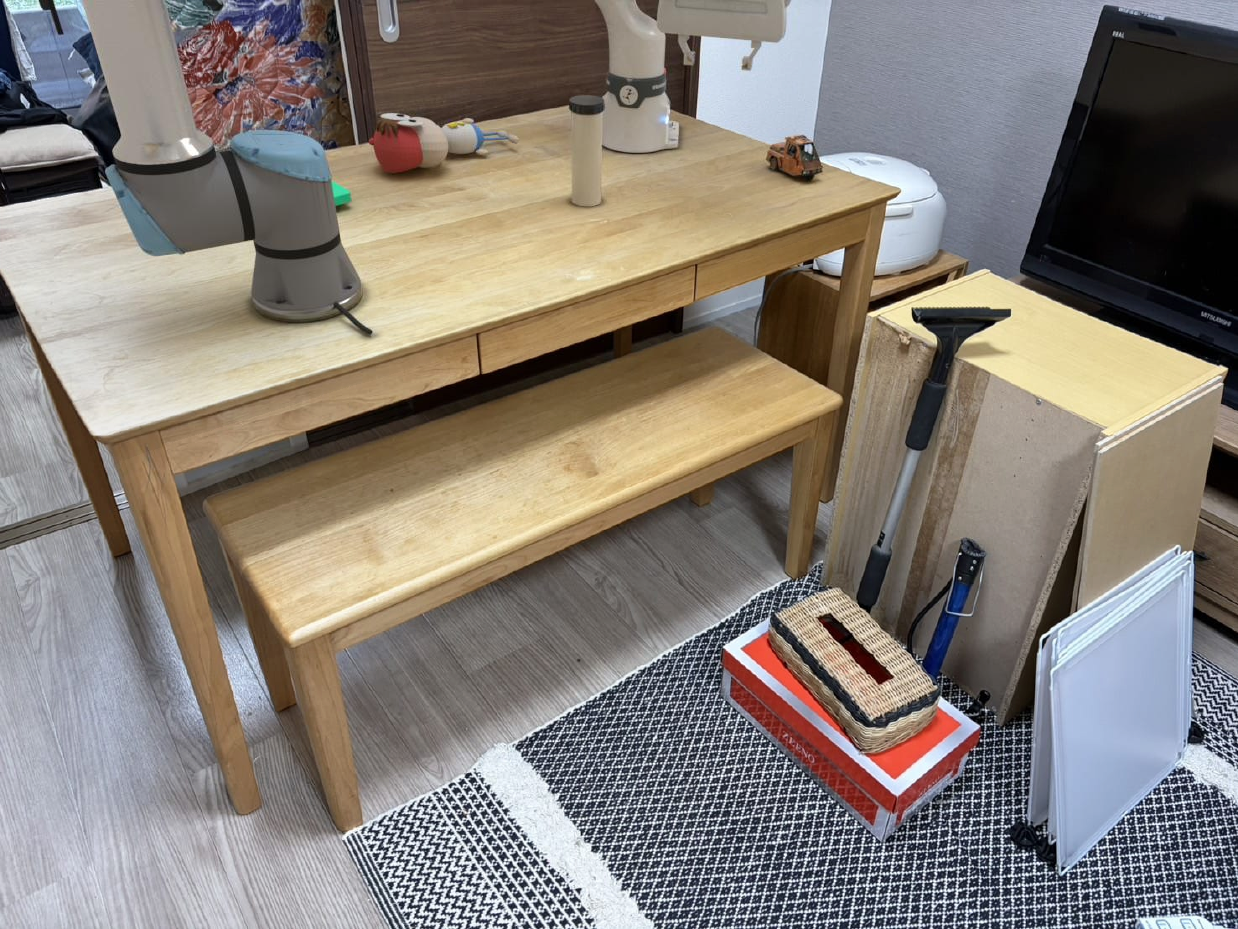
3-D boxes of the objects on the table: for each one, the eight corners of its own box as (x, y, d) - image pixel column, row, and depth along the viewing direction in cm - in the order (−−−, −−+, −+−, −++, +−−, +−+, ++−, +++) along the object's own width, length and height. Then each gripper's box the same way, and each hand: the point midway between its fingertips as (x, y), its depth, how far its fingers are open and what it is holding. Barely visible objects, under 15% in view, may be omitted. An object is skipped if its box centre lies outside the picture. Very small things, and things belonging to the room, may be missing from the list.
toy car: (782, 160, 188) (786, 126, 183) (827, 178, 180) (833, 142, 176) (760, 167, 184) (764, 131, 180) (805, 184, 177) (810, 148, 173)
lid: (580, 102, 162) (580, 92, 161) (611, 107, 159) (611, 98, 158) (562, 110, 157) (562, 101, 156) (593, 116, 155) (593, 107, 154)
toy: (535, 119, 180) (386, 123, 165) (533, 173, 185) (388, 181, 170) (493, 104, 193) (352, 106, 178) (493, 155, 198) (355, 160, 183)
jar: (581, 193, 171) (581, 96, 161) (606, 199, 169) (608, 101, 159) (566, 202, 167) (565, 103, 157) (591, 208, 165) (592, 109, 155)
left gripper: (151, -134, 141) (187, 17, 154) (-38, -132, 131) (17, 30, 144) (159, -130, 136) (195, 26, 149) (-37, -127, 126) (20, 41, 138)
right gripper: (796, -28, 141) (784, 68, 149) (665, -38, 145) (661, 56, 153) (791, -21, 136) (779, 77, 144) (656, -31, 140) (652, 65, 148)
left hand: (108, 29), depth 146 cm, fingers open, 13 cm apart
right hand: (717, 66), depth 149 cm, fingers open, 8 cm apart
